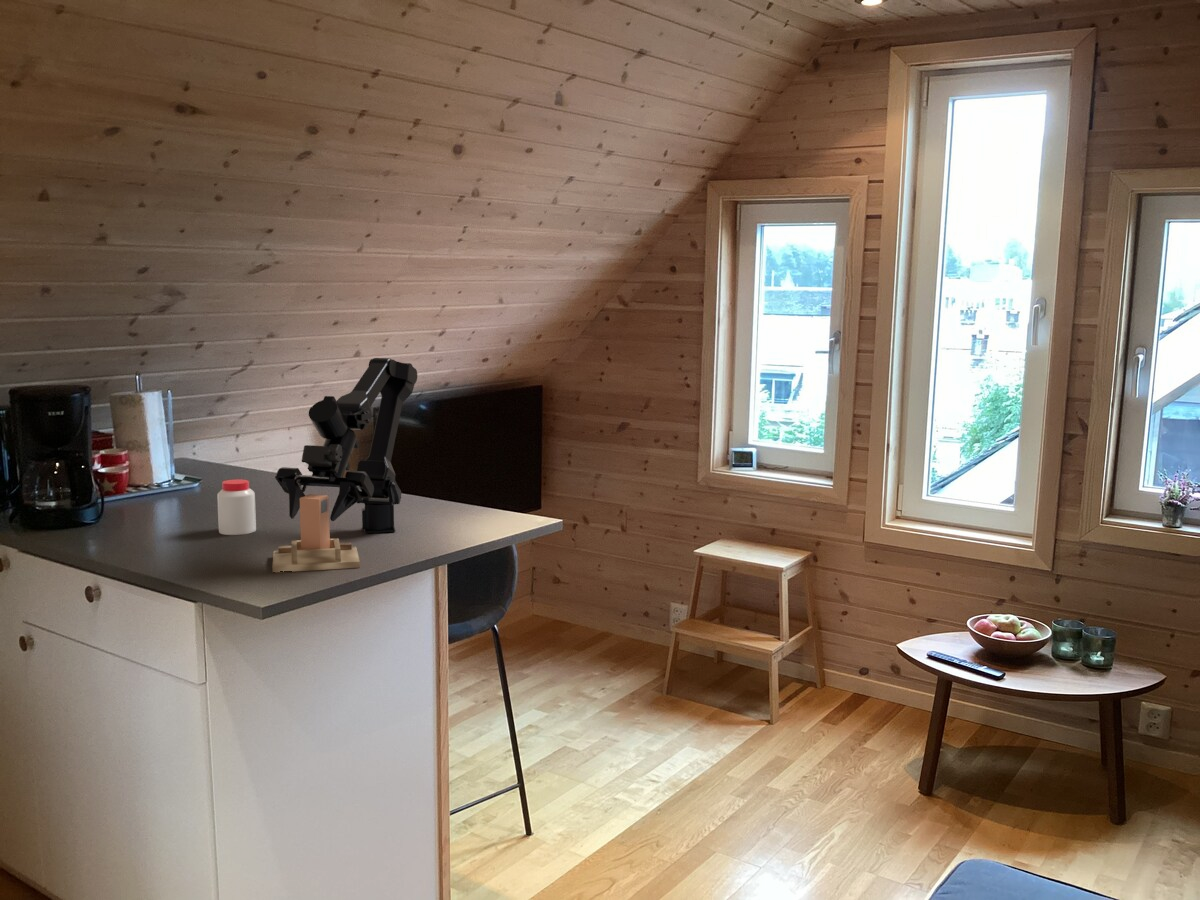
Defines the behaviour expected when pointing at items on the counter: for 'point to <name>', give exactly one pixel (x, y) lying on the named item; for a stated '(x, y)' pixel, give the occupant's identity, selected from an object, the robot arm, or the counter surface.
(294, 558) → the jig
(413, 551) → the counter surface
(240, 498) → the pill bottle
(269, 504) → the counter surface
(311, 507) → the block
